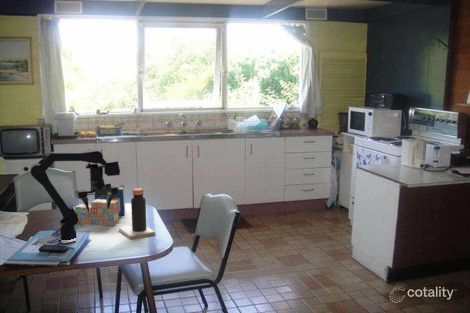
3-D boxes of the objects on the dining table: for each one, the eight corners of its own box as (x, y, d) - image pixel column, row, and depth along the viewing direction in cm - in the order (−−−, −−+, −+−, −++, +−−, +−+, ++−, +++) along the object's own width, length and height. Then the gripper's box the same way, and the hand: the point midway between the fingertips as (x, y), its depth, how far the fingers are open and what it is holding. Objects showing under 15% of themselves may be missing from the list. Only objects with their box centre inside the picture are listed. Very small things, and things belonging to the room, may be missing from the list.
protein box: (97, 213, 257) (95, 185, 255) (125, 211, 260) (124, 184, 258) (95, 218, 247) (93, 190, 245) (124, 216, 250) (123, 188, 248)
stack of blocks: (75, 224, 237) (73, 201, 235) (81, 221, 243) (79, 198, 241) (114, 226, 233) (113, 202, 231) (119, 222, 239) (118, 199, 237)
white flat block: (131, 239, 213) (131, 236, 212) (119, 230, 226) (119, 227, 226) (155, 234, 219) (155, 231, 219) (142, 226, 232) (142, 223, 232)
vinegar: (136, 232, 217) (135, 191, 214) (129, 229, 222) (128, 189, 219) (149, 230, 222) (147, 189, 219) (142, 226, 227) (140, 187, 224)
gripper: (81, 182, 200) (82, 217, 203) (122, 177, 211) (123, 210, 213) (74, 178, 210) (75, 211, 212) (114, 173, 220) (115, 205, 222)
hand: (98, 210), depth 215 cm, fingers open, 9 cm apart
